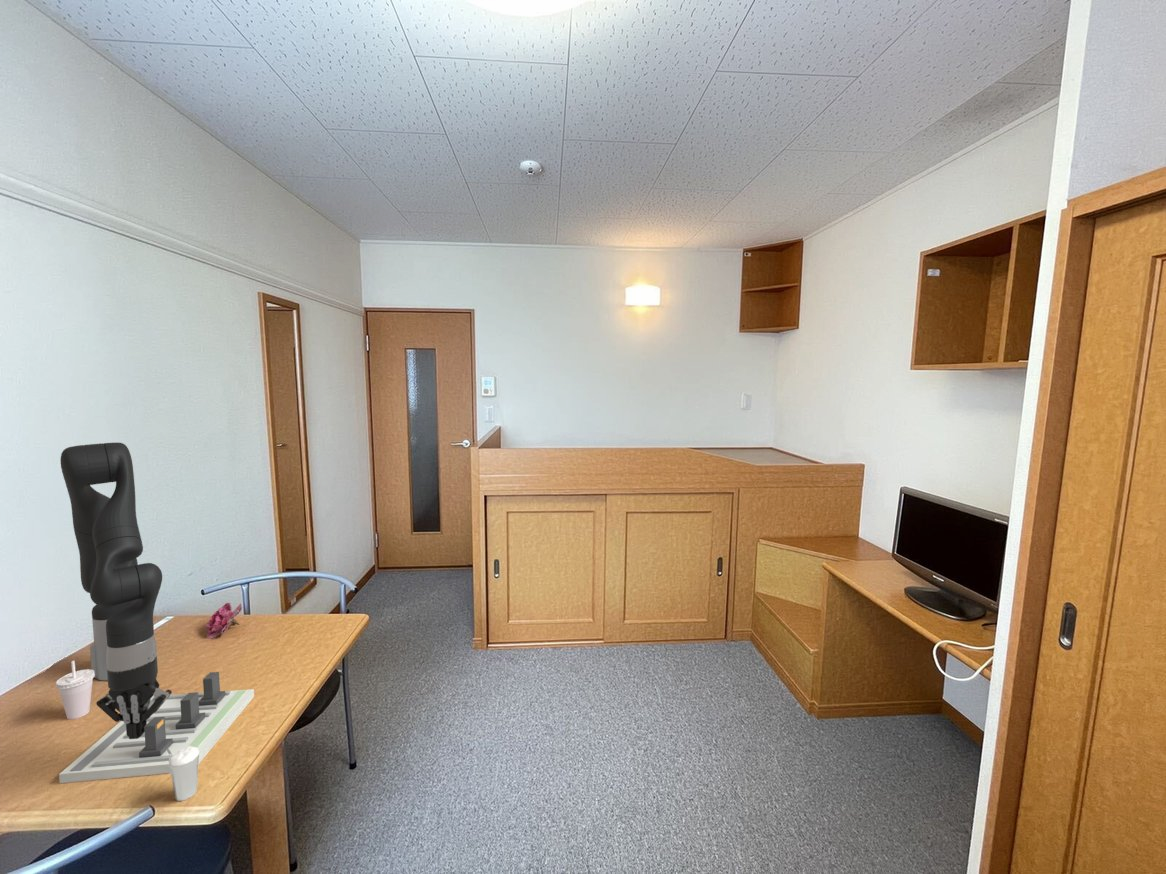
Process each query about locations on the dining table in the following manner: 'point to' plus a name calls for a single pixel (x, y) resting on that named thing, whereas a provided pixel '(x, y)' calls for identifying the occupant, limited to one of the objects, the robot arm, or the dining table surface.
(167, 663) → the dining table surface
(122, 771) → the panel
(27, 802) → the dining table surface
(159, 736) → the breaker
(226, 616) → the flower
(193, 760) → the milkshake
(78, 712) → the smoothie
